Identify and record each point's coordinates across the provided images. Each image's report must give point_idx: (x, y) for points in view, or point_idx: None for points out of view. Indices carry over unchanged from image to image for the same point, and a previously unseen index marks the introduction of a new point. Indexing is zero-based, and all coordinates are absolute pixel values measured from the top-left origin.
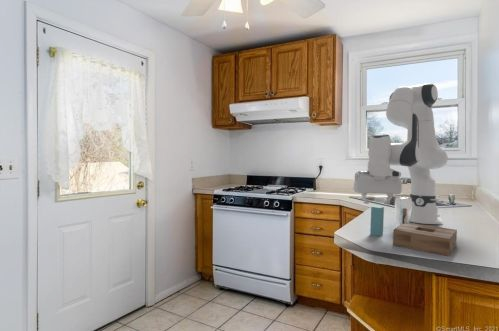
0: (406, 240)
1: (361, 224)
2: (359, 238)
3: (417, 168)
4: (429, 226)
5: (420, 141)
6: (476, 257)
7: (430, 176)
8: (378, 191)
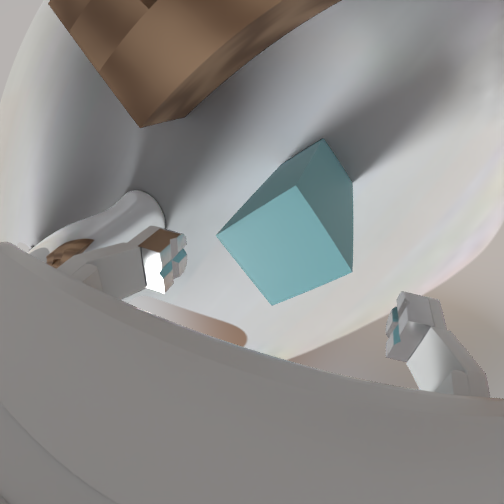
0: None
1: (260, 336)
2: (463, 134)
3: None
4: (92, 35)
5: None
6: None
7: None
8: (254, 380)
